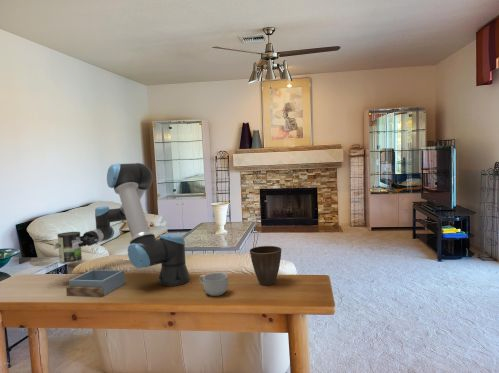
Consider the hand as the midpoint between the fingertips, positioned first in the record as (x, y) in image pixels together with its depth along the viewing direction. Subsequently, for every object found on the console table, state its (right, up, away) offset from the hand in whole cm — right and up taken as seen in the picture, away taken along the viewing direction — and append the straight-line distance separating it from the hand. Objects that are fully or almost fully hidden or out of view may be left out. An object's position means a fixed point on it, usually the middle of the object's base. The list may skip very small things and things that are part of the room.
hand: (63, 246), depth 180 cm
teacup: (+75, -18, -17) cm, 79 cm away
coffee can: (+1, -8, +5) cm, 10 cm away
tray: (+19, -19, -5) cm, 27 cm away
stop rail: (+17, -20, -14) cm, 30 cm away
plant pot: (+99, -16, -6) cm, 100 cm away
